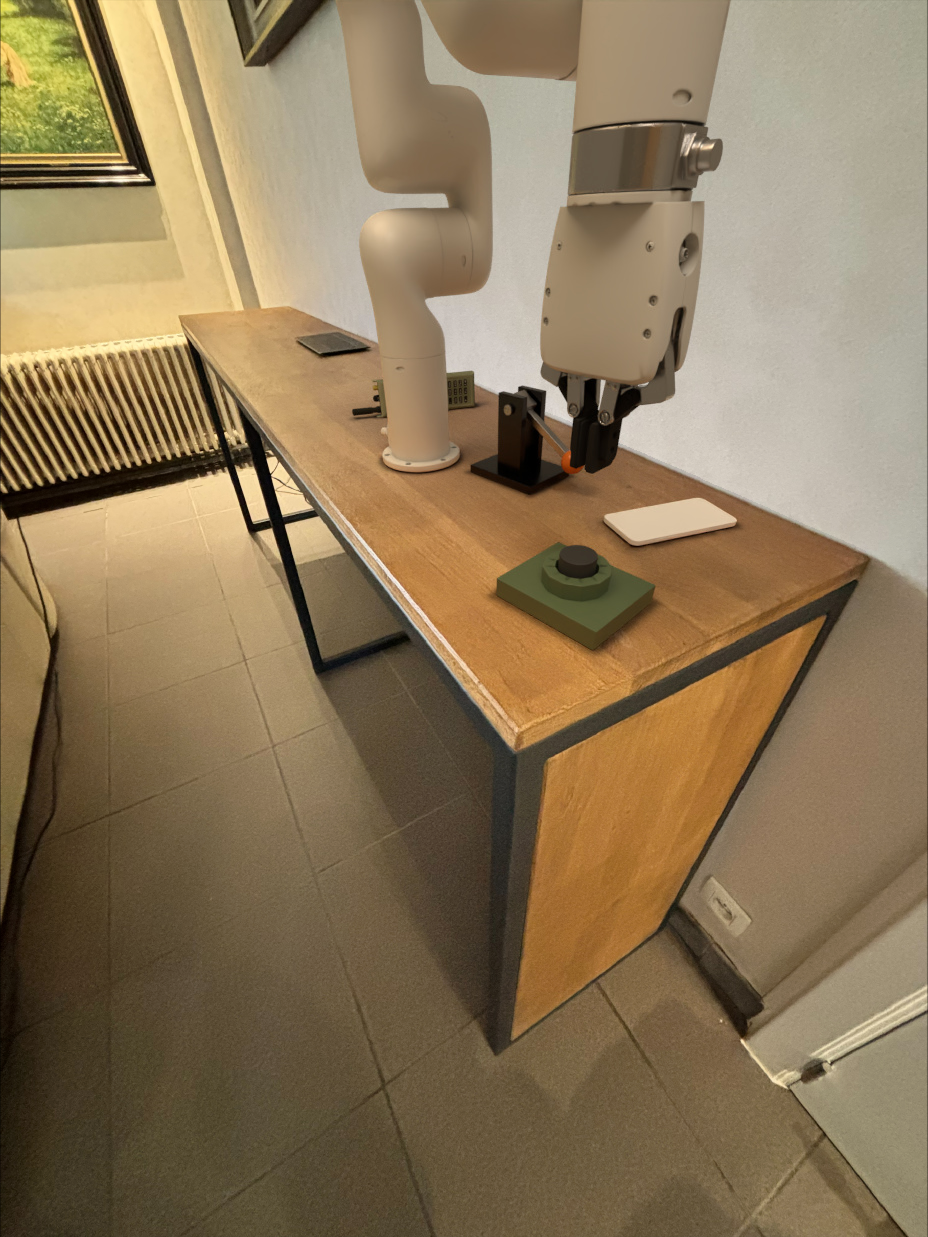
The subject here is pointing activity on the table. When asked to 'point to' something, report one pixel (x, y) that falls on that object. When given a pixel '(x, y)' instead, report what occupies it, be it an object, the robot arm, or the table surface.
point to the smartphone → (668, 521)
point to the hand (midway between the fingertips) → (591, 465)
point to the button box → (575, 596)
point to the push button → (577, 561)
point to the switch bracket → (519, 447)
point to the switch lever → (548, 434)
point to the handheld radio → (457, 391)
